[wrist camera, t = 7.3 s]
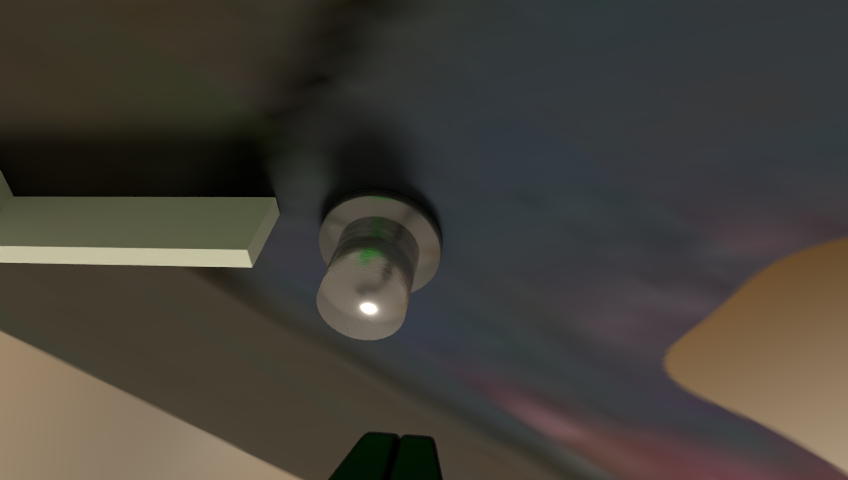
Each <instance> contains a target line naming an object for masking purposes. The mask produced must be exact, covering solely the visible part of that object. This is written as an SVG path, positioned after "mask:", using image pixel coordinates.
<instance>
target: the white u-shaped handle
mask: <svg viewBox="0 0 848 480" xmlns="http://www.w3.org/2000/svg"><path fill="white" fill-rule="evenodd" d="M279 215H280V213H279V209H278V205H277V201H276V197H14V196H13V194H12V192H11V190H10V188H9V186H8V184H7V182H6V180H5V178H4V176H3V174H2V172H1V170H0V262H8V263H58V264H109V265H159V266H209V267H253V265H254V263H255V261H256V259H257V257H258V256H259V254H260V252H261V250H262V248H263V246H264V244H265V242H266V240H267V238H268V236H269V234H270V232H271V230H272V228H273V226H274V224H275V223H276V221H277V219H278V217H279Z"/></svg>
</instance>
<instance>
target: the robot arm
mask: <svg viewBox="0 0 848 480" xmlns="http://www.w3.org/2000/svg"><path fill="white" fill-rule="evenodd" d="M328 480H443V478H442V473H441V468H440V463H439V458H438V453H437V448H436V443H435V440H434V439H433V438H432V437H431V436H422V435H410V434H406V435H403V436H401V438H400V437H399V435H397V434H395V433H386V432H374V431H371V432H367V433H366V434H364V435H363V436H362V437H361V438H360V440H359V441H358V442H357V443H356V445H355V446H354V447H353V448H352V450H351V451H350V452H349V454H348V455H347V456H346V457H345V459H344V460H343V461H342V462H341V464H340V465H339V466H338V467H337V469H336V470H335V471H334V473H333V474H332V475H331V476H330V478H329V479H328Z"/></svg>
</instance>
